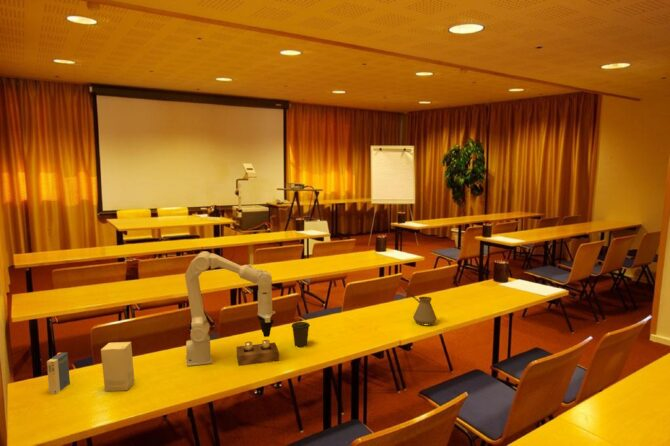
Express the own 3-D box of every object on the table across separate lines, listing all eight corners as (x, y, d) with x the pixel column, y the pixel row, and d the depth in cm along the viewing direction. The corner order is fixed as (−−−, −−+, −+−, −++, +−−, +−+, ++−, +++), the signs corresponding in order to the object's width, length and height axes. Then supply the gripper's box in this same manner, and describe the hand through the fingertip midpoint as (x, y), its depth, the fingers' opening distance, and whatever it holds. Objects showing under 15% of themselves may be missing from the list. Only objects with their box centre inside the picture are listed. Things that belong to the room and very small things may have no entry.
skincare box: (135, 382, 164) (132, 341, 162) (127, 391, 158) (125, 348, 156) (111, 383, 164) (109, 341, 162) (102, 392, 157) (100, 348, 156)
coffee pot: (441, 323, 227) (442, 294, 225) (425, 328, 220) (426, 298, 218) (410, 313, 244) (410, 286, 242) (394, 317, 237) (395, 289, 235)
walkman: (62, 383, 164) (60, 351, 162) (70, 383, 164) (67, 351, 162) (48, 394, 156) (45, 360, 155) (56, 394, 156) (54, 360, 155)
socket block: (238, 365, 178) (238, 356, 178) (236, 355, 188) (236, 346, 187) (279, 360, 183) (278, 351, 182) (275, 351, 192) (274, 342, 192)
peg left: (245, 354, 182) (245, 344, 182) (244, 351, 185) (244, 341, 185) (252, 353, 183) (252, 343, 182) (252, 350, 186) (251, 341, 185)
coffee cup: (307, 349, 195) (307, 326, 194) (289, 347, 196) (288, 325, 195) (312, 342, 203) (311, 320, 201) (294, 340, 204) (294, 319, 203)
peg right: (262, 352, 184) (262, 342, 184) (261, 349, 187) (261, 340, 186) (270, 351, 185) (269, 341, 184) (269, 348, 188) (268, 339, 187)
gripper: (277, 305, 178) (278, 339, 179) (272, 296, 192) (272, 327, 193) (259, 307, 176) (260, 341, 177) (255, 297, 190) (256, 328, 191)
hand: (265, 334), depth 185 cm, fingers open, 5 cm apart
